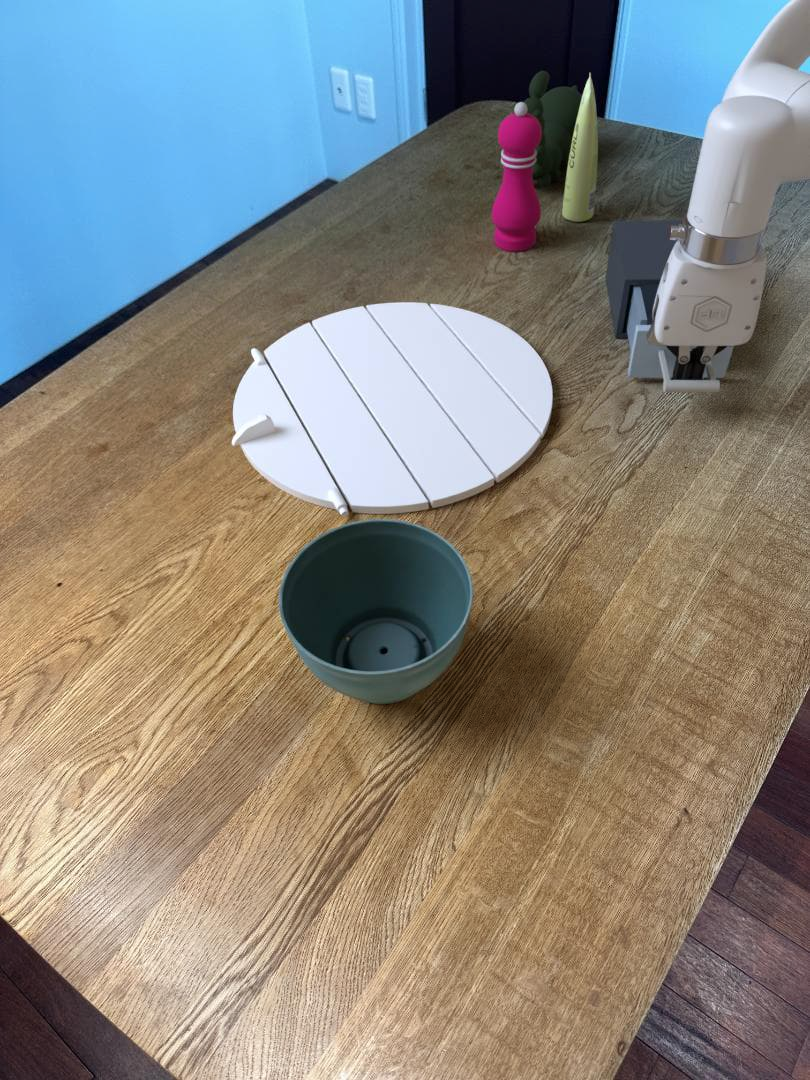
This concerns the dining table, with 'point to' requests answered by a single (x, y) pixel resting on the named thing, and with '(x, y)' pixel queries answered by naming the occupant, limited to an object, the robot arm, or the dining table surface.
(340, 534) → the flower pot
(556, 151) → the toy figurine
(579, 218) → the tube
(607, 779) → the dining table surface
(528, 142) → the pepper mill
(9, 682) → the dining table surface
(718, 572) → the dining table surface
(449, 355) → the lazy susan
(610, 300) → the dark grey cabinet
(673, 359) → the drawer
